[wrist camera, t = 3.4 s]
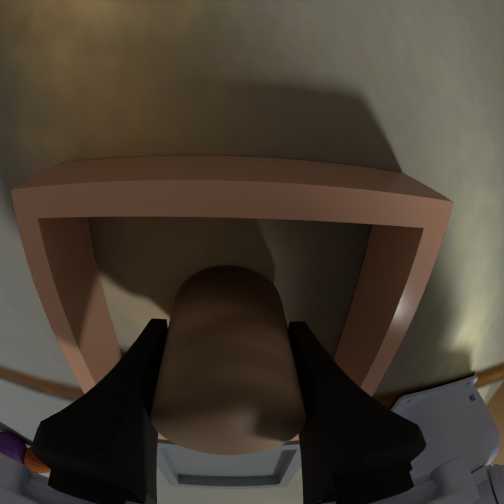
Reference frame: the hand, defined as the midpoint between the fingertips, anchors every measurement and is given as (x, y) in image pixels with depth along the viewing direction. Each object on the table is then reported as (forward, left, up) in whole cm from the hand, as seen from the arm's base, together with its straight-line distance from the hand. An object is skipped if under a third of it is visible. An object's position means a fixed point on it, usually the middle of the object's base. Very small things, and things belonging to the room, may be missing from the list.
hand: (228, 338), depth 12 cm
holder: (0, 0, -2) cm, 2 cm away
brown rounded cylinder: (0, 0, -2) cm, 2 cm away
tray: (0, +17, -2) cm, 17 cm away
